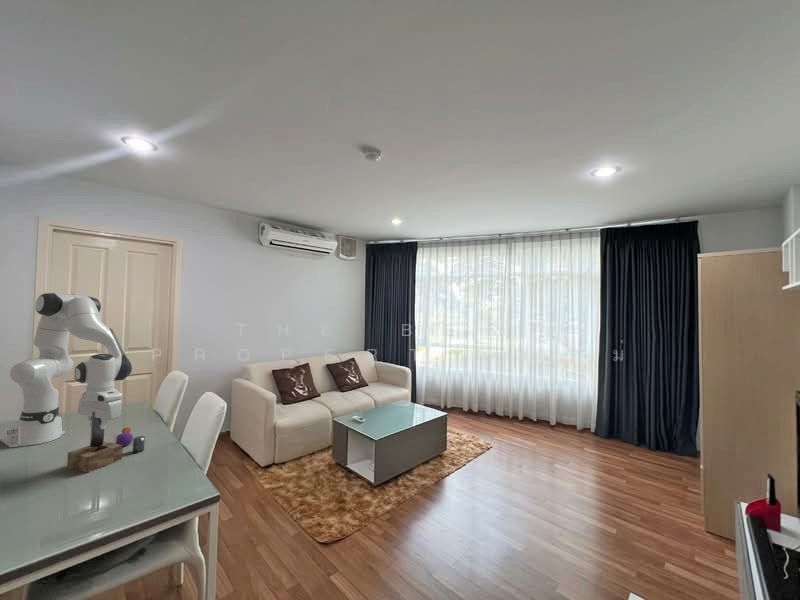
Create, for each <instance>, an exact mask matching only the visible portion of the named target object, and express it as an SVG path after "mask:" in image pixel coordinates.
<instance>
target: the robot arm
mask: <svg viewBox="0 0 800 600" xmlns="http://www.w3.org/2000/svg"><path fill="white" fill-rule="evenodd" d="M34 307H35V311H36V312H37V314H39V315H41V317H40V318H39V322H38V325H37V328H36V331H35V337H34V339H33V345H34V347H36V348H38V351H39V352H38V353H39V356H38V357H36V358H29V359H26V360H24V361H21V362H18V363H16V364H14V365H13V366H12V367H11V369H10V371H9V377H10V379H11V380H12V381H13V382H14V383H16V384H18V385H19V386H20V389H21V391H22V393H23V409H22V410H23V411H21V412H20V417H19V420H18V421H17V422H15V423H13V424H12V425H11V426H10V427H9V429H7V430H6V436H4V437H1V438H0V442H1V443H3V444H4V445H6V446H7V447H8V448H17V447H25V446H32V445H33V446H34V445H40V444H44V443H48V442H51V441H55V440H57V439H58V438H60V437H61V436H62V435H64V434H65V430H62V429H63V427H62V426H63V424H62V417H61V416H59V414H60V407H59V395H60V394H59V393H60V392H59V390H58V389H57V388H55V387H54V386H53V385H52V384H53V383H52V379H55V378H59V377H62V376H63V375H65V374H68V373H69V372H70V371H72V369H73V368H74V380H75V381H77V382H78V383H80V384H83V385H84V384H86V386H85V392H83V393H82V394H81V397H80V399H79V402H78V406H77V413H78V415H80V416H81V415H82V416H85V417H87V420H88V422H89V428H91V425H92V412H95V417H96V418H101V421H102V422H101V424H100V425H99V429H104V430H105V429H106V428H107V424H108V423H109V421H113V420H116V419H119V418H120V417H121V416H122V415H121V414H122V406H123V404H122V403H123V402H122V399H123V398H124V395H123V393H122V392H121V391H119V389H117V388H115V387H116V384H115V381H123V380H125V379H126V378H127V377H128V376H130V374H132V372H133V371H132V370H133V369H132V368H133V366H132V362H131V361H130V360H129V358H128V357H127V355H126V354H125V351H124V350H123V347H122V345H121V343H120V341H119V339H118V337H117V336H116V335H117V334H116V333H115V332H114V330H113V329H112V328H110V327H108V326H106V325H105V323H103V321H102V319H101V316H100V312H101V309H102V306H101V302H100V300H99V299H98V298H95V297H92V296H84V295H80V294H74V293H73V294H66V293H55V292H48V293H42V294H40V295H39V296H38V297H37V299H36V300H35V306H34ZM70 334H71V335H72V336H73V337H75V338H78V339H80V340H84V341H85V340H86V341H91V342H95V343H99V344H101V345H102V346H104V347H105V349H106V351H107V352H108V353H96V354H93V355H91V356H90V357H89V359H87V360H84V361H81V362H80V363H78V364H77V365H76V366H75V367H74V360H73V359H72V358H71V356H70V355H69V352H68V343H69V337H70Z"/></svg>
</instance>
